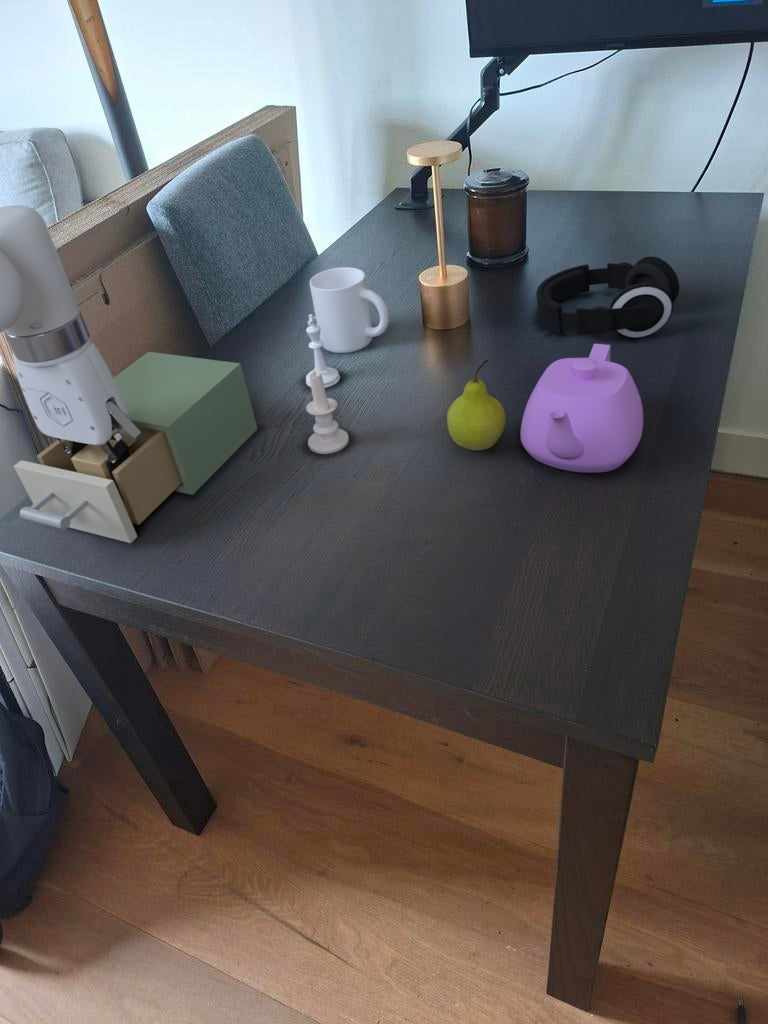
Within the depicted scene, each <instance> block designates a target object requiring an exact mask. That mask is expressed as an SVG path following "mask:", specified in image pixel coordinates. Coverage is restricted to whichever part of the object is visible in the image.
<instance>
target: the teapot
mask: <svg viewBox="0 0 768 1024" xmlns="http://www.w3.org/2000/svg"><path fill="white" fill-rule="evenodd" d="M641 399H642V398H641V396H640V393H639V391H638V387H637V385H636V383H635V381H634V379H633V377H632V374H631V373H630V371H629V370H628V368H626V367H625V366H623V365H621V364H619V363H616V362H612V361H611V344H605V343H593V345H592V348H591V350H590V353H589V355H588V357H566V358H565V357H564V358H560V359H557V360H555V361H553V362H552V363H550V365H548V367H547V368H546V369H545V371H543V373H542V375H541V376H540V378H539V380H538V381H537V383H536V385H535V386H534V388H533V390H532V392H531V394H530V396H529V398H528V400H527V403H526V406H525V407H524V408H525V409H524V411H523V416H522V420H521V426H520V431H519V432H520V433H519V434H520V435H519V436H520V437H519V438H520V442H521V444H522V446H523V448H524V449H525V450H526V452H527V453H528V454H529V455H530V456H531V457H532V458H533V459H535V460H536V461H537V462H540V463H541V464H544V465H546V466H550V467H552V468H556V469H558V470H563V471H568V472H576V473H606V472H611V471H614V470H616V469H619V468H620V467H621V466H622V465H623V464H624V463H626V462H627V460H628V459H630V457H631V456H632V455H633V454H634V452H635V451H636V449H637V447H638V446H639V443H640V441H641V439H642V436H643V431H644V430H643V429H644V409H643V404H642V400H641Z"/></svg>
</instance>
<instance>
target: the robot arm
mask: <svg viewBox="0 0 768 1024" xmlns="http://www.w3.org/2000/svg"><path fill="white" fill-rule="evenodd" d="M86 324H87V323H86V322H85V319H84V316H83V313H82V311H81V310H80V307H79V304H78V301H77V299H76V297H75V294H74V291H73V288H72V286H71V283H70V281H69V278H68V276H67V273H66V271H65V268H64V266H63V264H62V261H61V258H60V256H59V253H58V250H57V248H56V245H55V242H54V240H53V238H52V235H51V233H50V231H49V228H48V225H47V223H46V221H45V219H44V218H43V216H42V215H41V213H40V212H39V211H38V210H36V209H34V208H33V207H31V206H27V205H18V204H17V205H5V206H0V334H1V333H4V335H5V337H6V340H7V342H8V343H9V346H10V348H11V350H12V352H13V353H12V360H13V365H14V370H15V372H16V373H15V374H16V377H17V380H18V383H19V386H20V389H21V391H22V394H23V396H24V399H25V402H26V404H27V407H28V409H29V411H30V414H31V416H32V418H33V421H34V422H35V425H36V427H37V428H38V430H39V432H41V433H42V434H44V435H46V436H48V437H51V438H55V439H56V440H59V441H60V442H61V443H62V447H63V450H64V451H65V452H66V453H68V454H71V453H72V454H71V455H70V457H71V458H72V457H73V456H74V455H76V454H77V453H78V452H79V451H81V450H82V449H83V448H84V447H86V446H87V445H88V444H91V445H100V447H101V449H102V450H103V452H104V453H105V455H106V457H107V458H108V460H109V461H107V462H106V465H107V467H108V470H109V472H110V474H111V477H112V479H113V481H114V483H115V485H116V488H117V490H119V487H118V485H117V483H116V480H115V478H114V476H113V473H112V472H113V471H114V470H115V469H116V468H117V467H118V466H119V465H121V464H122V463H123V462H124V461H125V460H126V459H127V458H129V457H130V456H131V455H130V452H129V451H130V450H131V449H132V445H133V444H134V442H135V441H137V440H138V439H139V438H140V437H141V436H142V433H141V431H140V430H139V429H138V428H137V427H136V426H135V425H134V424H133V423H132V422H131V421H130V420H129V415H128V412H127V409H126V406H125V403H124V401H123V398H122V396H121V393H120V391H119V389H118V387H117V384H116V382H115V380H114V377H113V373H112V372H111V370H110V368H109V366H108V365H107V363H106V361H105V359H104V357H103V355H102V354H101V352H100V350H99V349H98V347H97V345H96V344H95V343H94V342H92V337H91V334H90V332H89V330H88V326H87V325H86ZM113 436H114V437H115V439H116V441H117V443H116V444H115V446H114V447H112V445H111V444H110V442H109V441H108V440H110V439H111V438H112V437H113Z"/></svg>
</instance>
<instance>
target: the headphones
mask: <svg viewBox="0 0 768 1024" xmlns="http://www.w3.org/2000/svg"><path fill="white" fill-rule="evenodd" d="M603 284H604V285H605V284H607V288H608V289H619V290H621V291H619V292H618V293H617V294H616V295H615V297H614V298H613V299H612V301H611V303H610V307H609V308H608V307H605V306H600V305H598V306H594V307H592V308H584V307H583V308H582V307H577V308H576V309H575V312H576V313H573V312H566V311H565V312H563V307H562V304H561V303H560V302H562V301H564V300H567V299H568V298H571V297H574V296H576V295H578V294H579V295H580V294H583V293H587V292H590V286H594V285H603ZM535 293H536V302H537V311H538V312H537V313H538V314H537V315H538V322H539V323H540V325H541V326H542V327H543V328H545V329H546V330H548V331H550V332H552V333H555V334H558V335H563V334H565V330H573V331H577V335H578V336H583V335H594V336H602V335H603V336H604V335H605V334H607V333H609V332H615V333H616V334H618V335H620V336H622V337H624V338H629V339H641V338H645V337H648V336H651V335H653V334H655V333H657V332H659V331H660V330H661V329H662V328H663V327H665V325H666V324H667V323H668V321H669V320H670V318H671V316H672V314H673V310H674V303H675V301H676V300H677V299H678V296H679V293H680V281H679V278H678V275H677V273H676V272H675V270H674V268H673V267H672V266H671V265H670V264H669V263H668V262H667V261H665V260H664V259H662V258H660V257H657V256H652V255H651V256H645V257H643V258H641V259H639V260H638V261H637V262H636V263H635V264H631V263H630V262H625V261H623V262H619V263H614V262H613V263H612V262H607V264H606V267H603V268H592V269H590V265H589V264H582V265H578V266H574V267H569V268H567V269H564V270H561V271H559V272H556V273H555V274H552V275H550V276H549V277H546V279H544V280H543V281H542V282H541V283H540V284H539V285H538V287H537V289H536V292H535Z"/></svg>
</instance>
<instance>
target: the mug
mask: <svg viewBox="0 0 768 1024" xmlns="http://www.w3.org/2000/svg"><path fill="white" fill-rule="evenodd" d="M309 289H310V293H311V294H310V295H311V298H312V304H313V311H314V315H315V316H314V317H316V320H315V322H316V325H318V326H320V328H321V331H320V338H319V340H321V341H323V343H324V345H323V346H322V348H323V349H324V350H326V351H327V352H329V353H334V354H350V353H354V352H358V351H360V350H363V349H364V348H366V347H368V345H370V344H371V342H372V340H373V338H375V337H379V336H382V334H384V333H385V332H386V331H387V328H388V327H389V320H390V316H389V310H388V307H387V305H386V303H385V301H384V300H383V298H382V297H381V296H380V294H378V293H376V292H375V291H374V290H371V289H368V285H367V277H366V273H365V271H363V270H362V269H361V268H360V269H359V268H357V267H351V266H349V267H348V266H343V267H342V266H341V267H334V268H330V269H326V270H322V271H320V272H317V273H316V274H314V275H313V276H312V277H311V278H310V279H309ZM370 303H372V304H373V305H374V306H375V307H376V309H377V311H378V314H379V323H378V325H377V326H373V322H372V316H371V307H370Z"/></svg>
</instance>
